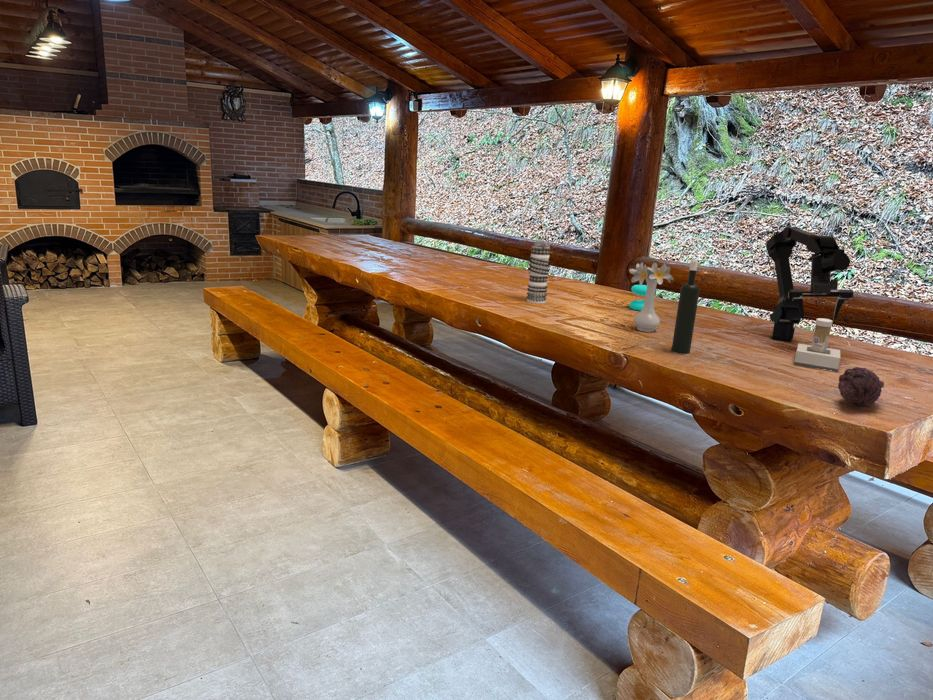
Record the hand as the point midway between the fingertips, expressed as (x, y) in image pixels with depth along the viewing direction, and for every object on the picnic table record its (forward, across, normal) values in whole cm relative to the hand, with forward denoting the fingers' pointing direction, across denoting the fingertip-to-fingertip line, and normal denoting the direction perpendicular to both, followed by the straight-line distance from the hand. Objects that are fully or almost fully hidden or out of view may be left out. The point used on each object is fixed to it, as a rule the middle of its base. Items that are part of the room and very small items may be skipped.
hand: (818, 320), depth 214 cm
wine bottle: (+12, -41, -23) cm, 49 cm away
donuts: (-5, -64, +39) cm, 75 cm away
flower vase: (+5, -57, 0) cm, 57 cm away
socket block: (+14, -1, -12) cm, 19 cm away
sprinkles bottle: (+14, -1, -12) cm, 18 cm away
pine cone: (+24, +5, -51) cm, 57 cm away
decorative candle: (-6, -106, +24) cm, 109 cm away
